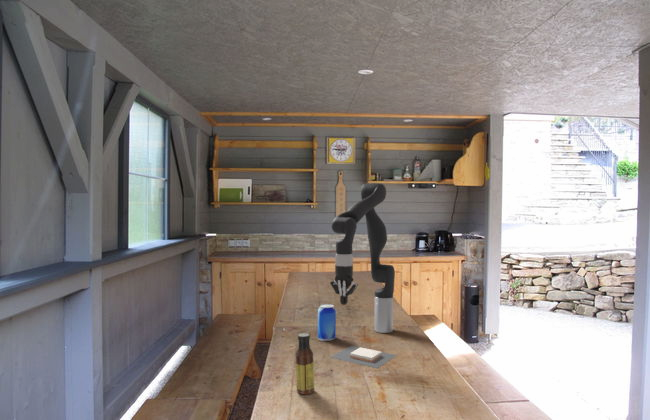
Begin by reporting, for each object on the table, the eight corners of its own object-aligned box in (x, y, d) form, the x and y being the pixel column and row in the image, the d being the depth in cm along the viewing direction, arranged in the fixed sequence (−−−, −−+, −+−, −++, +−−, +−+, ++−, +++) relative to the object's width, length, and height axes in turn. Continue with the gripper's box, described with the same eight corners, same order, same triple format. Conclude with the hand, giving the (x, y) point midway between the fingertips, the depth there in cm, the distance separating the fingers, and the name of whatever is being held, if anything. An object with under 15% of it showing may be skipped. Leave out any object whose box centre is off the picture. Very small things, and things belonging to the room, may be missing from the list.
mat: (351, 347, 207) (351, 345, 207) (396, 356, 195) (396, 355, 195) (329, 358, 192) (329, 357, 192) (377, 369, 180) (377, 368, 180)
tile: (360, 347, 199) (381, 351, 194) (360, 351, 199) (381, 355, 194) (350, 353, 192) (371, 357, 186) (350, 357, 192) (371, 362, 186)
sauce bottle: (314, 387, 163) (314, 331, 162) (314, 395, 156) (314, 337, 156) (295, 388, 162) (295, 331, 162) (295, 395, 156) (295, 337, 156)
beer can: (320, 342, 212) (320, 308, 212) (315, 337, 220) (315, 304, 220) (337, 341, 215) (338, 307, 214) (332, 336, 223) (332, 303, 222)
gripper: (361, 264, 197) (361, 304, 197) (335, 261, 204) (335, 300, 205) (353, 266, 190) (353, 308, 191) (326, 263, 198) (326, 304, 198)
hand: (343, 304), depth 198 cm, fingers closed
